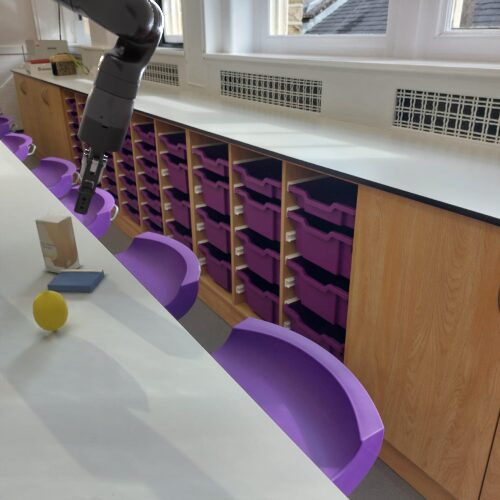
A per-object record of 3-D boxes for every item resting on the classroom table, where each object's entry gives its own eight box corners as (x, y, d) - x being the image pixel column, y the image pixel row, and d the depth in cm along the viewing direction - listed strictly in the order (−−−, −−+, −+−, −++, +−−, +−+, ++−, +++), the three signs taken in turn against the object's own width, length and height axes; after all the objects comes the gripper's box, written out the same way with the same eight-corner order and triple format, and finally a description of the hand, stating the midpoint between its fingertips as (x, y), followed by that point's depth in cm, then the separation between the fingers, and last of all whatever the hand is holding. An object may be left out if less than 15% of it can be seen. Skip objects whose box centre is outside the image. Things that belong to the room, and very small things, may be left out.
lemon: (71, 336, 83) (62, 295, 80) (37, 342, 82) (26, 301, 79) (72, 319, 88) (63, 280, 85) (40, 325, 87) (29, 286, 84)
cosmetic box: (45, 271, 107) (32, 219, 101) (58, 263, 110) (47, 212, 105) (69, 275, 104) (57, 222, 99) (82, 266, 108) (71, 214, 103)
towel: (48, 291, 98) (46, 283, 98) (64, 275, 105) (62, 267, 104) (90, 292, 97) (89, 284, 96) (104, 275, 103) (103, 268, 103)
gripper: (86, 102, 87) (63, 185, 92) (81, 118, 74) (55, 213, 80) (128, 117, 90) (103, 197, 95) (129, 135, 77) (101, 225, 82)
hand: (81, 204), depth 87 cm, fingers open, 8 cm apart
